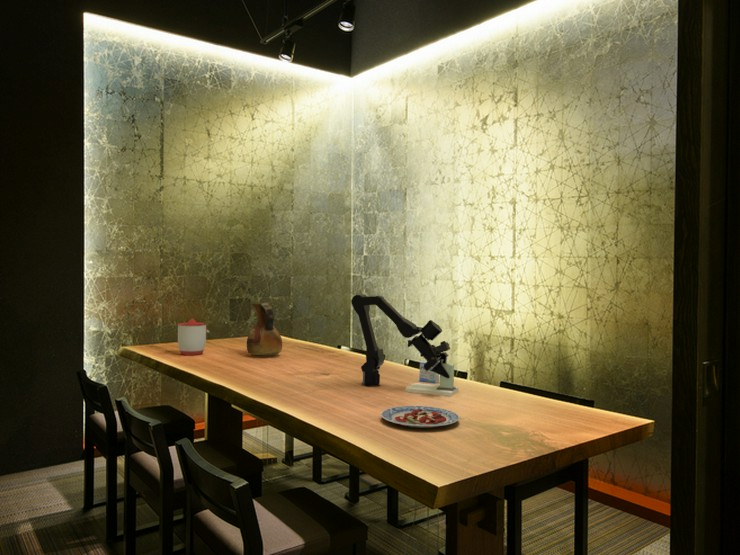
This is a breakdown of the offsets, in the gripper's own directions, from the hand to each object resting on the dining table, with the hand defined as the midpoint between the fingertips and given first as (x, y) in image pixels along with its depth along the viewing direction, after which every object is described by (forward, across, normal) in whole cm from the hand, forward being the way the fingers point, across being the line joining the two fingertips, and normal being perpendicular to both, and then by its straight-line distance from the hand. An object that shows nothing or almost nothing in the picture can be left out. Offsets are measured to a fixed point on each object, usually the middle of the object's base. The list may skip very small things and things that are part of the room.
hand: (450, 377), depth 235 cm
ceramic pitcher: (-78, +46, +88) cm, 126 cm away
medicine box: (-5, +19, +15) cm, 25 cm away
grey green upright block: (+2, 0, +4) cm, 5 cm away
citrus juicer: (-105, +32, +115) cm, 159 cm away
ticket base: (-1, 0, +10) cm, 10 cm away
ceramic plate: (+6, -46, +4) cm, 47 cm away
